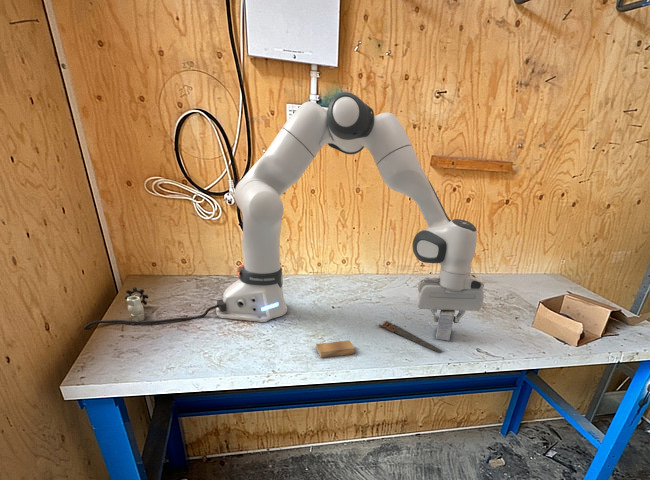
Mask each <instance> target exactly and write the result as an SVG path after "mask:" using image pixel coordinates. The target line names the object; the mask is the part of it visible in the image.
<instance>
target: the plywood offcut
mask: <svg viewBox="0 0 650 480" xmlns="http://www.w3.org/2000/svg"><path fill="white" fill-rule="evenodd" d="M315 350H316V352H317V353H318V355H319V357H320V358H321V359H323V358H330V357H338V356H339V357H340V356H347V355H348V356H349V355H355V354H356V348H355V346H354V345H353V343H352V341H351V340H342V341H332V342H323V343H316V345H315Z"/></svg>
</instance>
